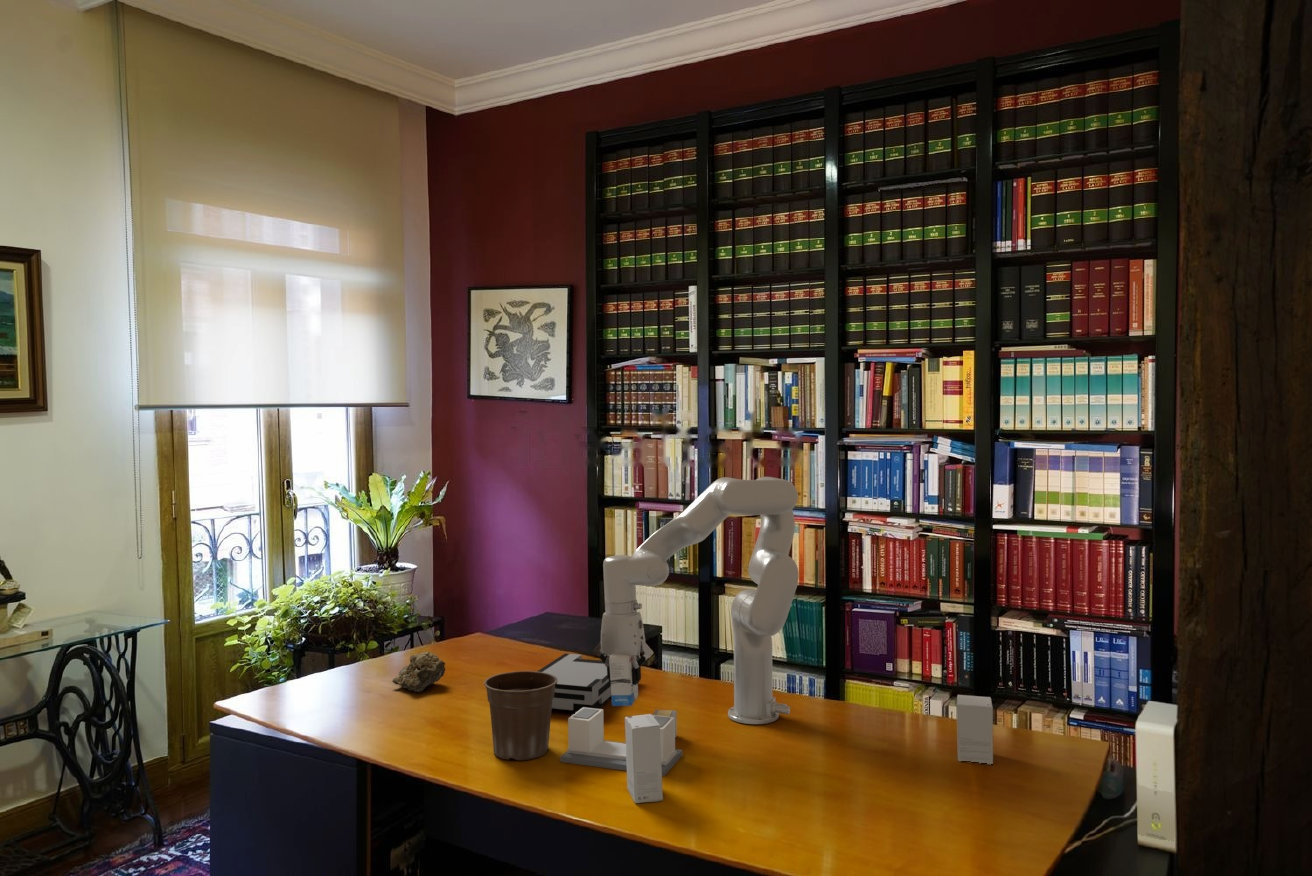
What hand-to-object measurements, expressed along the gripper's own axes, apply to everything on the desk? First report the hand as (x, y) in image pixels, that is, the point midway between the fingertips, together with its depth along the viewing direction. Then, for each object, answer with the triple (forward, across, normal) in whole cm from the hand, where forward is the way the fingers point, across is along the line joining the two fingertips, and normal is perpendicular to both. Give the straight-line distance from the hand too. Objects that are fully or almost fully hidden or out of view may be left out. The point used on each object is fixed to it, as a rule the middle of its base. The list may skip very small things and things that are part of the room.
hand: (624, 681), depth 215 cm
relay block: (+12, -11, +4) cm, 16 cm away
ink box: (+5, 0, 0) cm, 5 cm away
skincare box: (+11, -17, +34) cm, 39 cm away
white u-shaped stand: (+11, -6, +18) cm, 22 cm away
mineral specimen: (+10, +68, -13) cm, 70 cm away
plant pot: (+11, +17, +21) cm, 29 cm away
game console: (+12, +22, -20) cm, 32 cm away
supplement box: (+14, -79, -7) cm, 80 cm away
